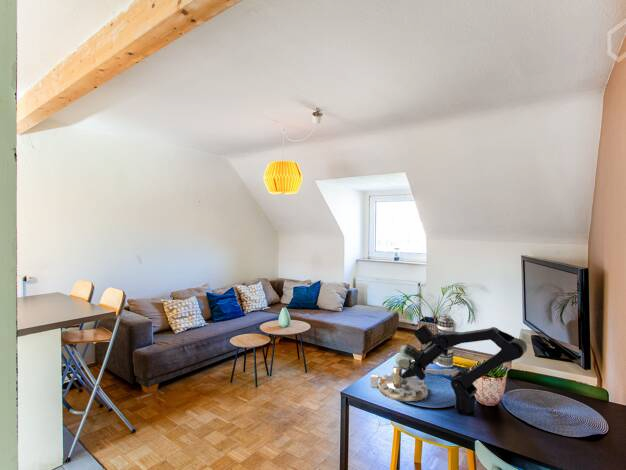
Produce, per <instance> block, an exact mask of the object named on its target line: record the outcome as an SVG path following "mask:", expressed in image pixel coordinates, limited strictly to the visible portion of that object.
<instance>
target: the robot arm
mask: <svg viewBox="0 0 626 470" xmlns="http://www.w3.org/2000/svg"><path fill="white" fill-rule="evenodd" d="M412 335H413V336H414V337H415V339H416V340H418V341H417V342H419V343H420V344H421V345H422V346H424V345H425V346H426V347H425V348H420V349H418V348H416V347H415V346H413V345H411V344H409V343H407V344H406V345H405V346H406V347H405V349H404V353H405V354H407V355H409V356H410V357H412V358H413V359H412V360H410V359H409V366H408V367H407V369H404V372H402V373H403V374H402V376H401V377H402V378H403V379H404V378H408V377H413V376H415V377H417V378H418V380H421V381H422V380H423V381H424V379H426V373H425V370H426V369H427V367H428V366H429V365H430V364H431V365H434V361H436V359H437V358H438V357H439V356H440V355H441V354H444V355H445V356H448V349H446V348H449V347H455V346H458V345H461V344H464V343H465V344H466V343H474V342H482V341H491V342H493V343H494V344H495V345H496V346H497V347H498V348H500V350H499V351H497V352H496V353H495V354H494V355H492V356H490V357H489V358H487V359H486V360H484V361H483V362H482V363H480V364H478V365H477V366H475V367H473V368H472V369H470V370H469V369H468V370H467V368H466V367H464V368H463V369H462V370H459V372H458V373H456V374H455V375H454V376H453V377H452V379H451V381H450V387H451V388H452V390H453V392H454V396H455V397H454V408H455V410H456V412H457V414H458V415H463V416H471V417H476V416H477V414H476V397H475V395H476V394H477V391H478V388H477V387H476V386H475V385H474V383H475V382H476V381H477V380H478V379H480V378H482V377H485V375H487V374H488V373H490V372H492V371H493V370H495V369H497V368H498V367H500V366H501V365H503V364H505V363H508V362H512V361H515V360H518V359H521V357H522V356H523V355H524V354H526V352H527V350H528V346H527V343H526V342H525V341H524V340H523V339H521V338H517V337H515V336H514V335H512V334H509V333H507V332H505V331H502V330H501V329H500V328H497V327H495V326H492V327H490V328H482V329H476V330H468V331H463V332H461V331H454V330H453V331H446V332H444V333H437V332H436V333H435V334H434V333H433V332H432V331H431V329H429V327H428V326H427V324H423V325H422V326H421V327H419V328H418V329H416V330H415V331H413V333H412Z"/></svg>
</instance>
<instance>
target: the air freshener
mask: <svg viewBox="0 0 626 470" xmlns="http://www.w3.org/2000/svg"><path fill="white" fill-rule="evenodd" d="M405 347H406V345H401V346H400V349H399V350H400V352H399V354H397V355H396V356H395V358H394V359H395V363H396V365H398V367H401V368H402V369H404V370H406V369H407V367H408V366H409V359H410V360H412V359H413V358H412V357H410V356H409V355H407V354H405V353H404V349H405Z"/></svg>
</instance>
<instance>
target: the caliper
mask: <svg viewBox="0 0 626 470" xmlns="http://www.w3.org/2000/svg"><path fill="white" fill-rule="evenodd" d="M458 372H460V369H458V367H456V368H455V367H453V369H451V368H449V369H448V368H444V369H435V368H434V369H432V368H431V369H430V368H426V370H425V374H426V373H427V374H441V375H442V374H443V375H444V376H451V378H453V376H454V375H455V374H456V373H458Z"/></svg>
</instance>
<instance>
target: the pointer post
mask: <svg viewBox="0 0 626 470" xmlns="http://www.w3.org/2000/svg"><path fill="white" fill-rule="evenodd" d="M379 379H383V376H379V375H377V374H371V375H370V388H375V389H376V388H377V389H378V388H379Z"/></svg>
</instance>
